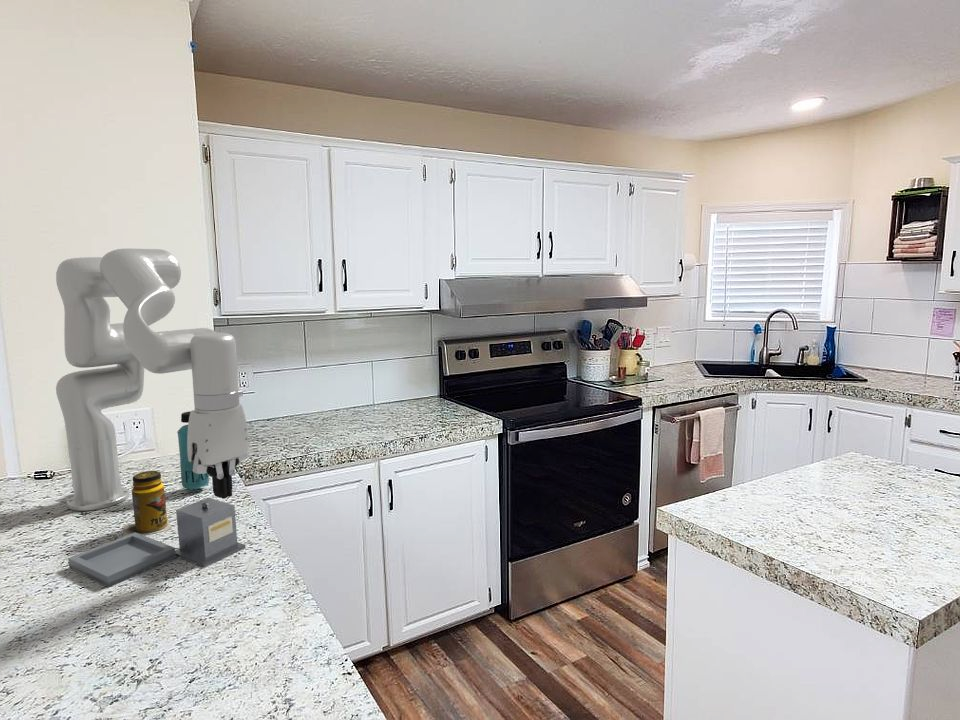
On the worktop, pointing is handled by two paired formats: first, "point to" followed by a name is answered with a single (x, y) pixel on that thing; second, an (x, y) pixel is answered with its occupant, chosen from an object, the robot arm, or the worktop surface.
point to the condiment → (148, 505)
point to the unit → (207, 532)
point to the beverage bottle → (187, 474)
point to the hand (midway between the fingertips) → (223, 495)
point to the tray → (121, 559)
